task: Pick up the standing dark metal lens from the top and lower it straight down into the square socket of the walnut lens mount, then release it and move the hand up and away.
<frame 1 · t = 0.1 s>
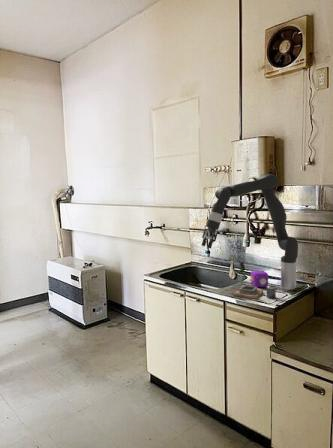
hand: (205, 247, 202), 31 cm above the worktop, tool tilted 20°, fingers open, 8 cm apart
lens mount: (248, 294, 211), on the worktop
toy camera: (260, 286, 227), on the worktop
lens: (271, 297, 203), on the worktop
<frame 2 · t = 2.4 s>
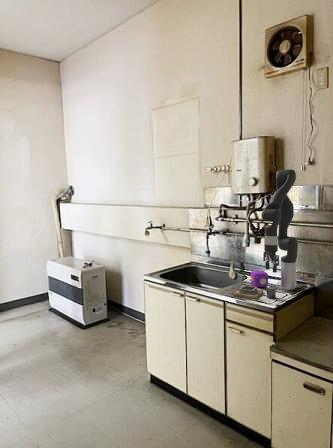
hand: (271, 270, 202), 16 cm above the worktop, tool pointing down, fingers open, 8 cm apart
nothing on the worktop moved.
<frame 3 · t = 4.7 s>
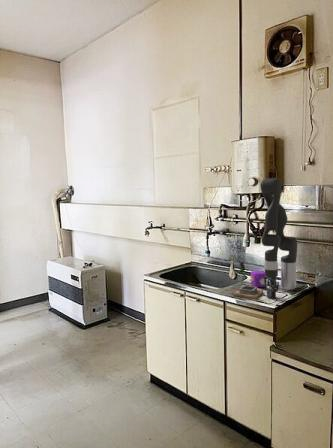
hand: (271, 296, 203), 1 cm above the worktop, tool pointing down, fingers closed on lens, 5 cm apart
lens: (271, 297, 203), on the worktop, touching gripper
everything else where it was.
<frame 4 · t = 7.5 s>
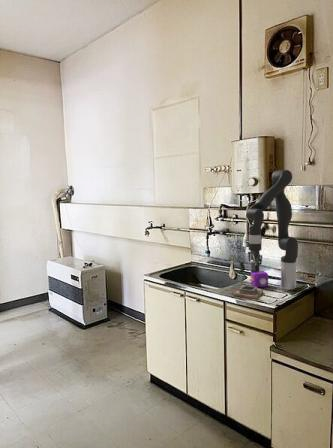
hand: (255, 270, 207), 16 cm above the worktop, tool pointing down, fingers closed on lens, 5 cm apart
lens: (255, 271, 207), point 15 cm above the worktop, touching gripper
everything else where it was.
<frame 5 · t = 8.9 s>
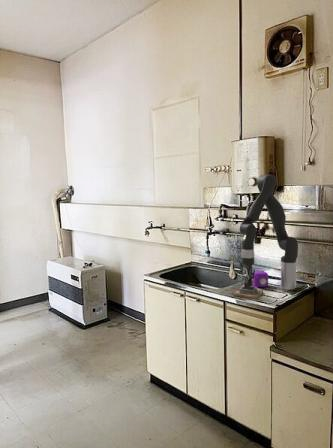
hand: (248, 283, 210), 7 cm above the worktop, tool pointing down, fingers closed on lens, 5 cm apart
lens: (247, 285, 210), point 6 cm above the worktop, touching gripper
everything else where it was.
when the fingers open (4 cm above the worktop, at t = 10.2 s): lens drops 2 cm, resting on lens mount.
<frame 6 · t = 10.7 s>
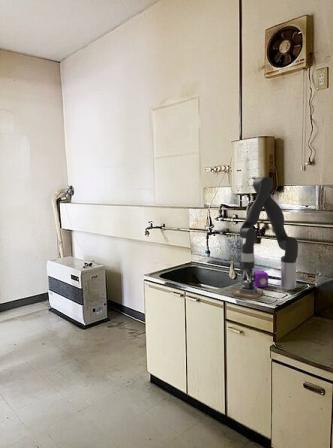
hand: (248, 286, 211), 5 cm above the worktop, tool pointing down, fingers open, 8 cm apart
lens: (248, 292, 211), point 2 cm above the worktop, touching lens mount
everything else where it was.
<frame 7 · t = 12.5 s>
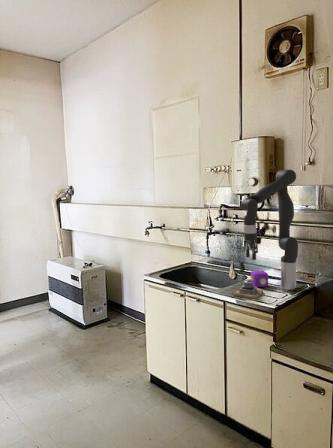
hand: (250, 258, 209), 22 cm above the worktop, tool pointing down, fingers open, 8 cm apart
nothing on the worktop moved.
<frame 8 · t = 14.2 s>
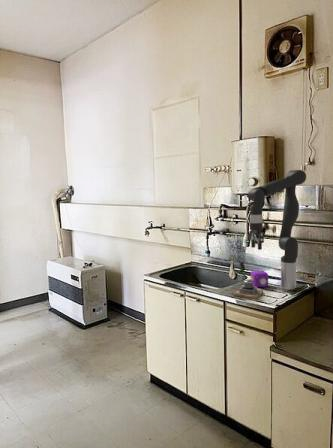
hand: (256, 248, 209), 28 cm above the worktop, tool pointing down, fingers open, 8 cm apart
nothing on the worktop moved.
at the end: lens 0.1 cm off-centre on the lens mount, point 1.6 cm above the lens mount's base; lens tilted 2°; the gripper is holding nothing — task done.
